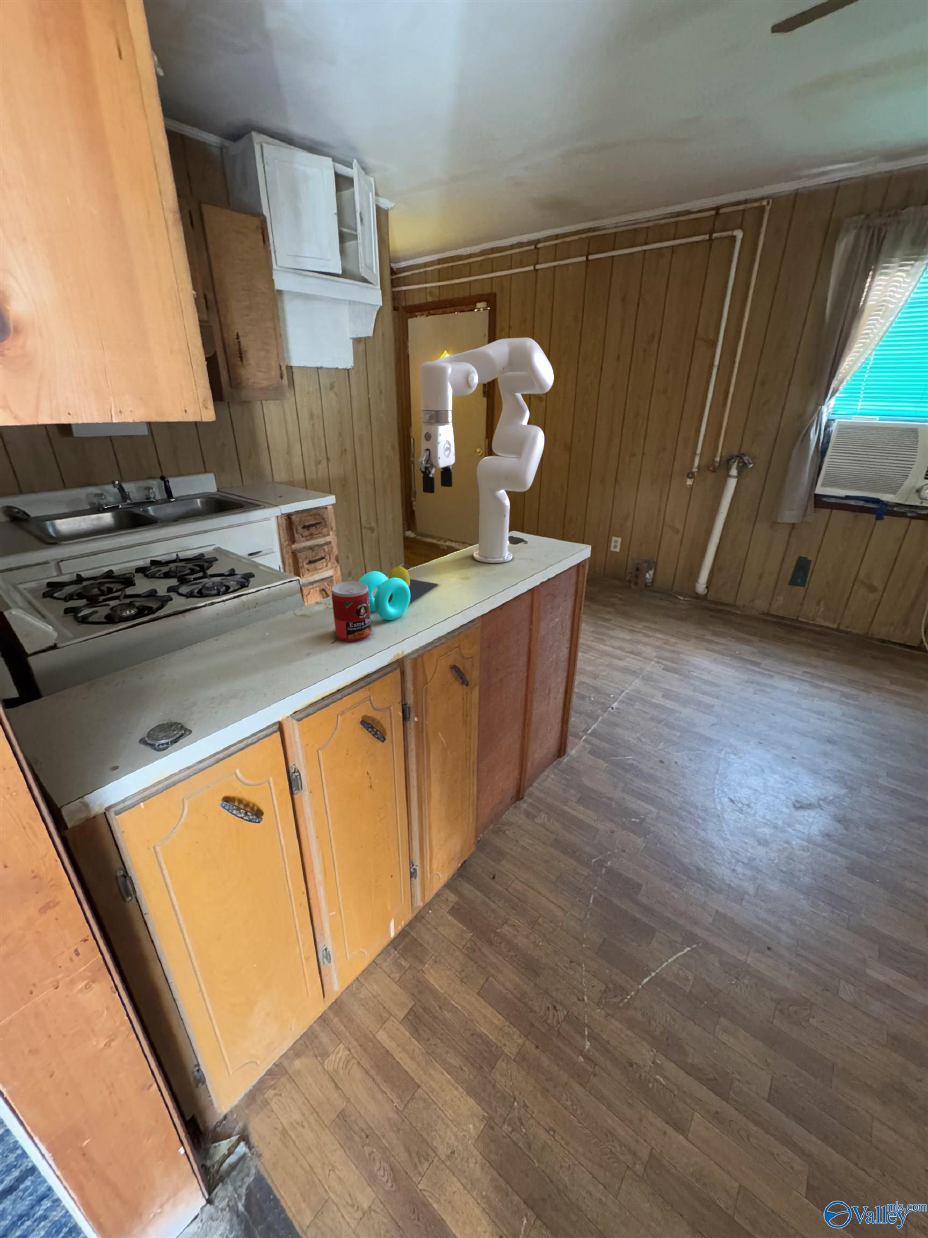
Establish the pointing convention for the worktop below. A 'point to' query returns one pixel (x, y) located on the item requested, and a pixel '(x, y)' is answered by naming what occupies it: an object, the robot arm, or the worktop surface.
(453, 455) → the robot arm
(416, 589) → the mat
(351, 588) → the canned food
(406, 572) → the lemon
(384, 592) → the donuts
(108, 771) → the worktop surface
